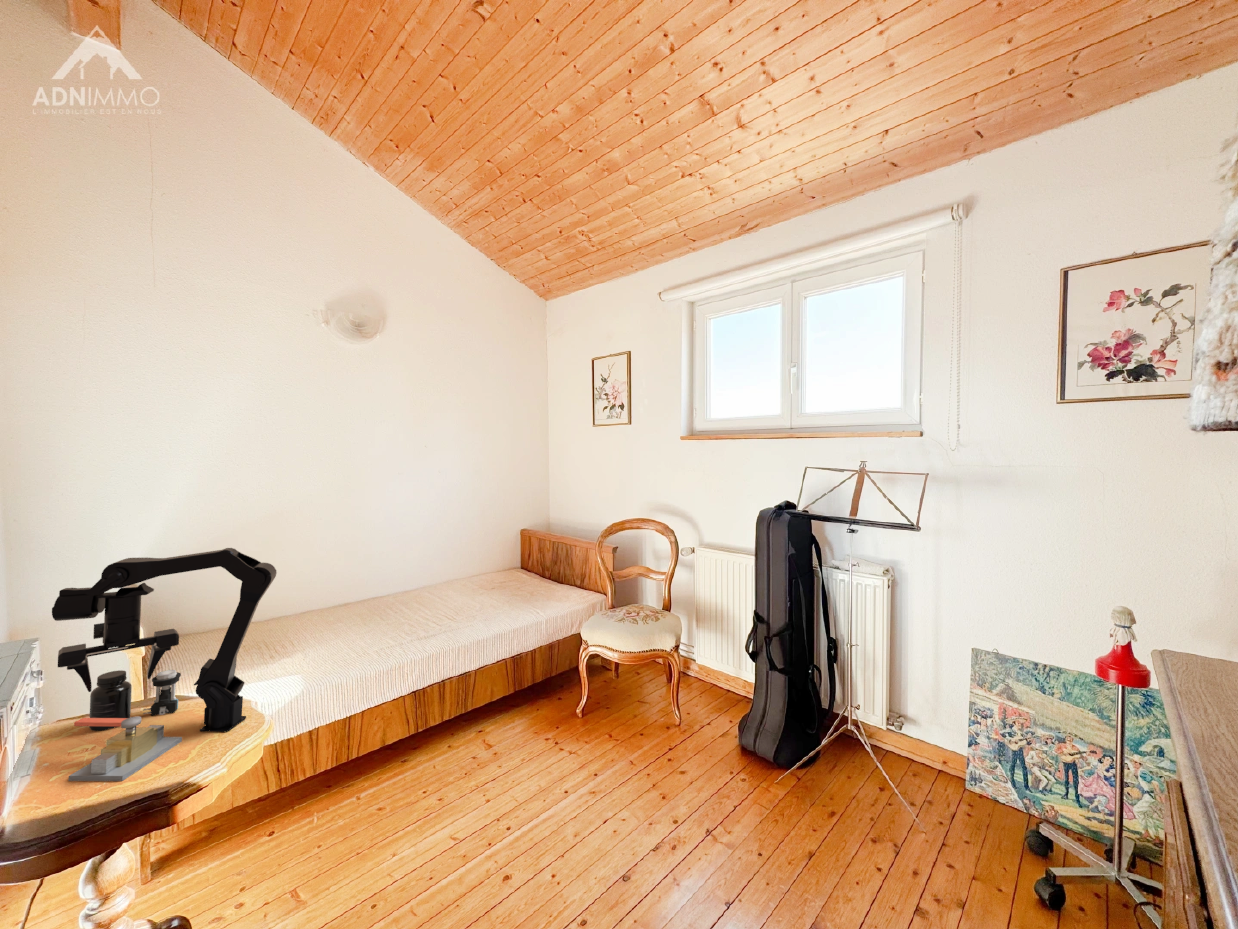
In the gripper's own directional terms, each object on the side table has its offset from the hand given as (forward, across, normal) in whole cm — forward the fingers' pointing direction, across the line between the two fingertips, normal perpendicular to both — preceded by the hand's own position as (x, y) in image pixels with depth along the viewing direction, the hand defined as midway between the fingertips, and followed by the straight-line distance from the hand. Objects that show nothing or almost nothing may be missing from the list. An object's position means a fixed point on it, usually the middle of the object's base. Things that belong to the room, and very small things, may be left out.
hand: (120, 684), depth 108 cm
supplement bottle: (+13, +1, -11) cm, 17 cm away
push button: (+13, -8, -10) cm, 18 cm away
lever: (+5, +2, +8) cm, 10 cm away
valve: (+13, -1, +11) cm, 17 cm away
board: (+13, -1, +11) cm, 17 cm away
